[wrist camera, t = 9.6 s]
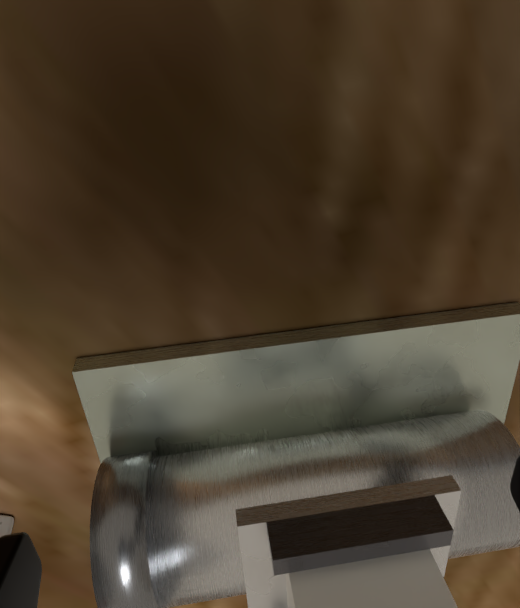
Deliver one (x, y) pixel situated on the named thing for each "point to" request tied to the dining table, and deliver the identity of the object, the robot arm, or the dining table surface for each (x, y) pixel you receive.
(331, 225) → the dining table surface
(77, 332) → the dining table surface
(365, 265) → the dining table surface
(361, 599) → the off-white cube
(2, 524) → the supplement box
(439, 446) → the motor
